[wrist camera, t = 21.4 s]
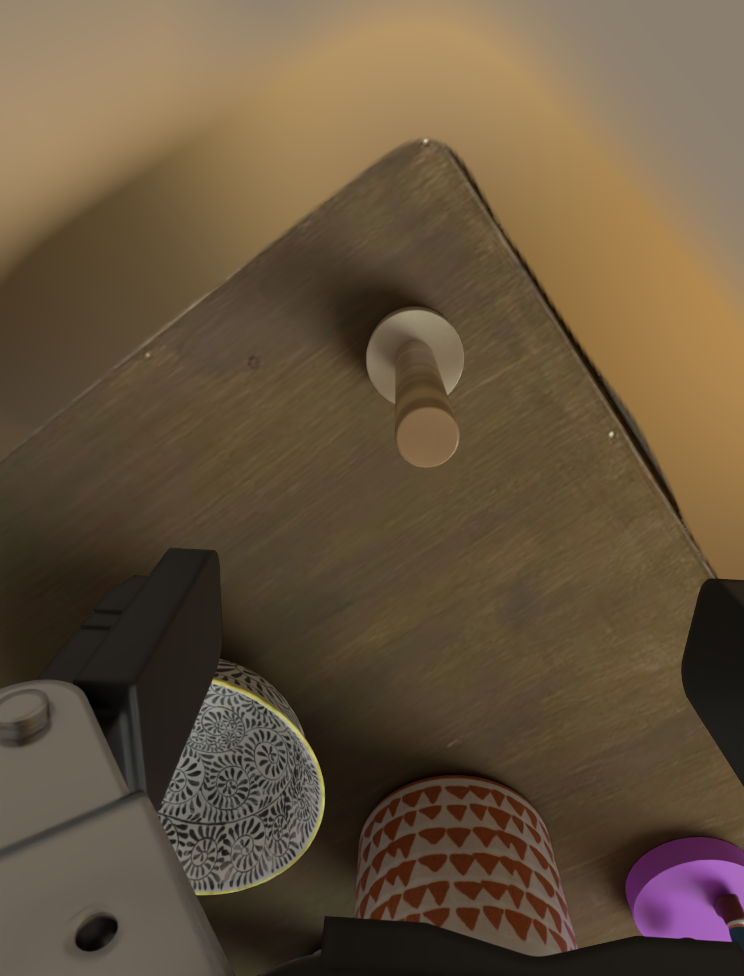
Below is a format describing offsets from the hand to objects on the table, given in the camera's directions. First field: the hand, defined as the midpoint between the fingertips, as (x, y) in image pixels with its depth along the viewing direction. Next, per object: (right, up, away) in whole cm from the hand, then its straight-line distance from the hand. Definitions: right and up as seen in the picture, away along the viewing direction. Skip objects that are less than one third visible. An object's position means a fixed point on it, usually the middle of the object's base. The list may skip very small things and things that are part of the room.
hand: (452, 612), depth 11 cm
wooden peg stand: (+1, +9, +24) cm, 26 cm away
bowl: (-12, -12, +33) cm, 37 cm away
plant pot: (+5, -24, +37) cm, 44 cm away
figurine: (+22, -27, +38) cm, 51 cm away
